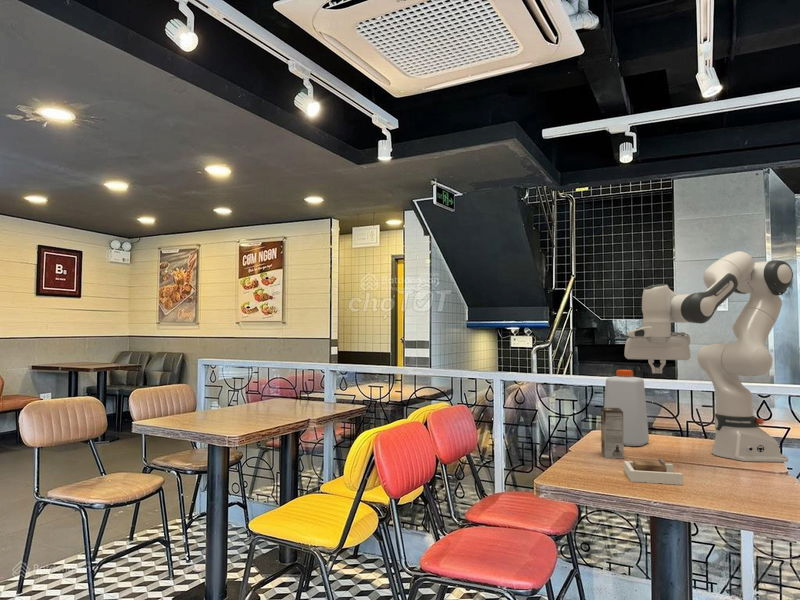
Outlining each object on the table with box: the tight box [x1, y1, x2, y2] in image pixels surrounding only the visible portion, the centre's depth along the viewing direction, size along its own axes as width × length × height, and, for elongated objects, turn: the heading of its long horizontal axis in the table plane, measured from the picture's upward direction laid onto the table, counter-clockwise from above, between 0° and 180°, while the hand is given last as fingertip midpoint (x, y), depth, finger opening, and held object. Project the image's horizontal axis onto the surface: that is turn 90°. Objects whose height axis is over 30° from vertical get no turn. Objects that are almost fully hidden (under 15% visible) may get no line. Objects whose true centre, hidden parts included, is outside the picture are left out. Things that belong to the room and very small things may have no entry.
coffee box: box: [600, 407, 625, 460], centre depth 197 cm, size 9×6×16 cm
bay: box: [623, 460, 684, 486], centre depth 168 cm, size 14×13×3 cm
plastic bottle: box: [603, 369, 650, 447], centre depth 221 cm, size 15×15×28 cm
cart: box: [632, 457, 666, 472], centre depth 168 cm, size 8×7×5 cm
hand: (657, 373), depth 191 cm, fingers closed
